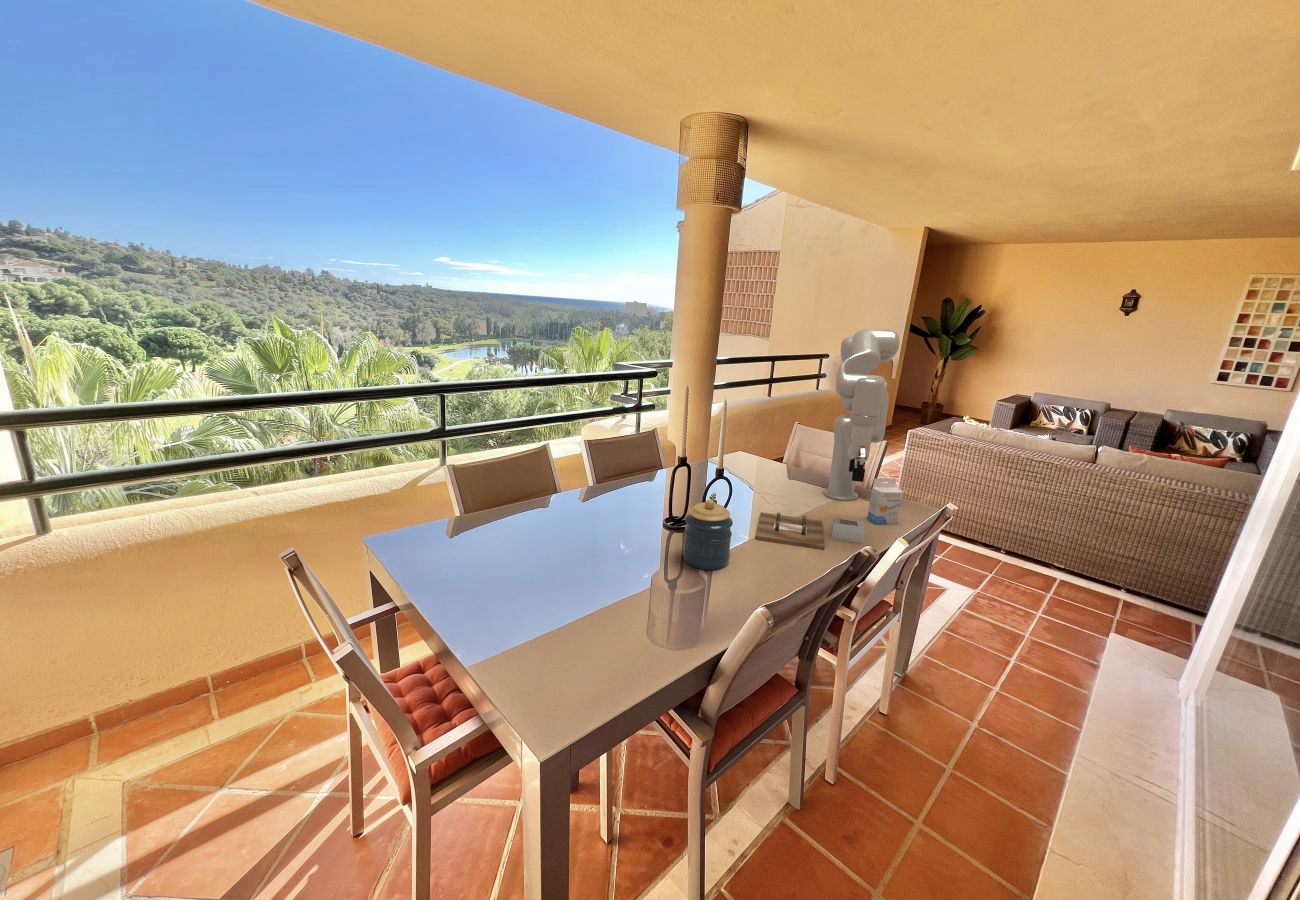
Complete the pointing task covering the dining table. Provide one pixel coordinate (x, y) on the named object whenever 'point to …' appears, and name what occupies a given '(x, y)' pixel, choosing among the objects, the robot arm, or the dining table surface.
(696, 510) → the canister
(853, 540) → the drive
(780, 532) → the pin tray
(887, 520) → the ink box
